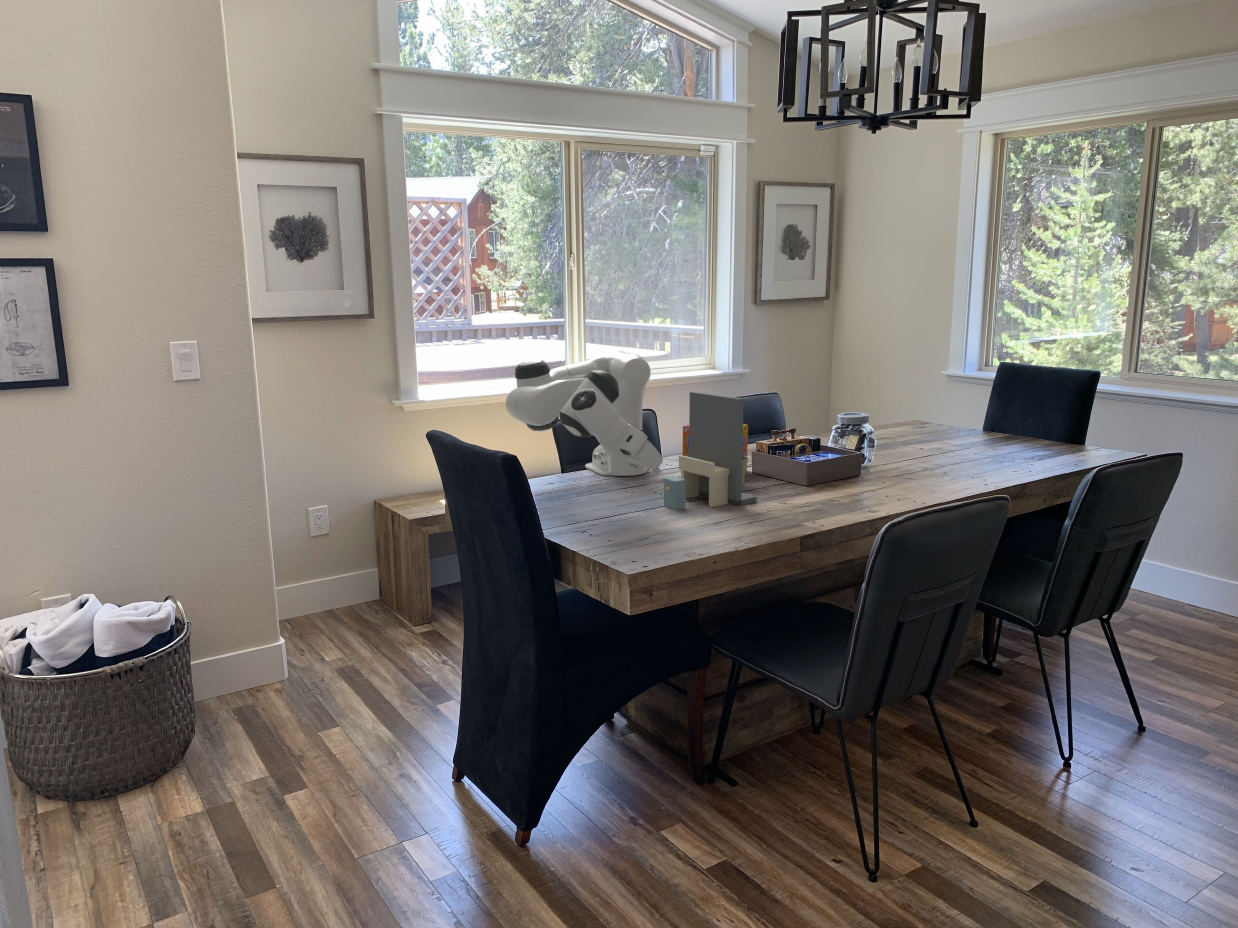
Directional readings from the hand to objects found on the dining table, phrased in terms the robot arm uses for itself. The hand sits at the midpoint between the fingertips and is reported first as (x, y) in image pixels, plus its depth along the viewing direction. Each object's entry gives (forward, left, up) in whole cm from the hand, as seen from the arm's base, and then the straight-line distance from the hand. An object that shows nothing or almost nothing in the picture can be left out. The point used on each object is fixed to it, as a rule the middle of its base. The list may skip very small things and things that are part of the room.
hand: (647, 470), depth 244 cm
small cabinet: (0, +10, -12) cm, 15 cm away
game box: (-27, +50, -12) cm, 58 cm away
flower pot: (-9, +41, -12) cm, 44 cm away
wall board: (0, +25, -12) cm, 28 cm away
